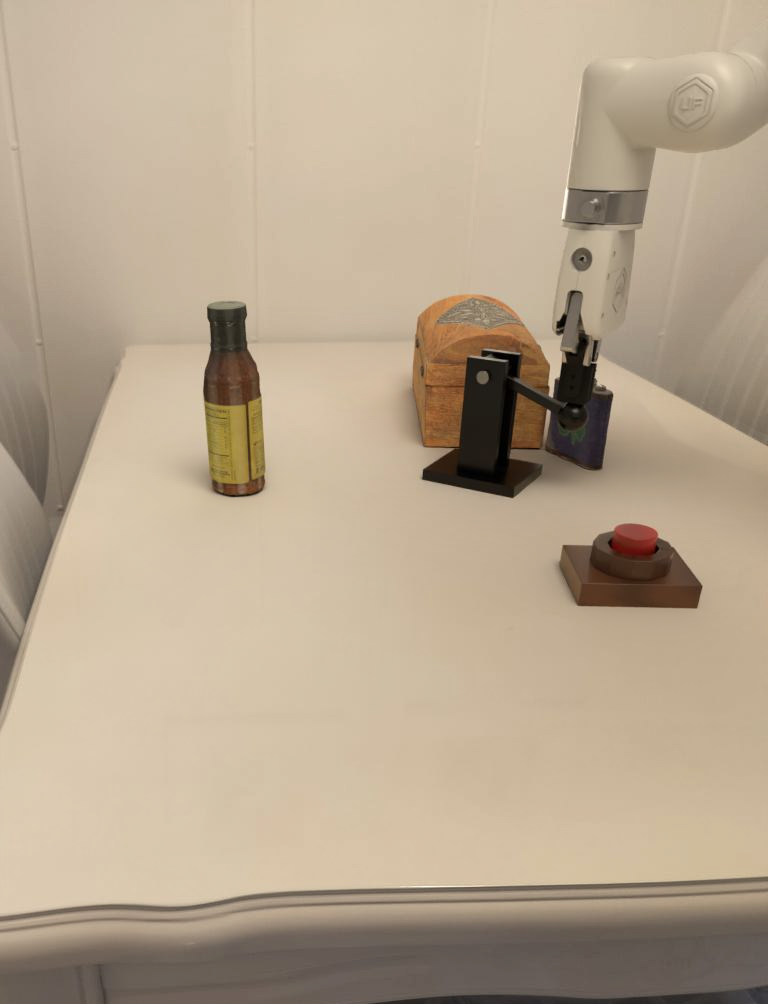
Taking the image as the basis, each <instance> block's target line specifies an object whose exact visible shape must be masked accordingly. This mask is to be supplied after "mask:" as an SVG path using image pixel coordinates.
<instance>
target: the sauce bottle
mask: <svg viewBox="0 0 768 1004" xmlns="http://www.w3.org/2000/svg"><path fill="white" fill-rule="evenodd" d="M247 317H248V311H247V304H246V303H245V302H243V301H237V300H220V301H214V302H211V303H209V304H208V305H207V306H206V318H207V320H208V322H209V332H210V333H209V334H210V344H209V346H210V351H209V355H208V358H207V359H208V360H207V362H206V365H205V368H204V372H203V373H204V375H203V385H202V395H203V406H204V417H205V418H204V419H205V431H206V441H207V442H206V443H207V456H208V467H209V476H210V478H211V485H212V487H213V489H214V490H215V491H216V492H217V493H220V494H223V493H224V494H223V495H226V494H227V495H226V496H231V495H236V496H244V495H245V496H247V494H249V495H253V494H256V493H258V492H260V491H261V490H263V488H264V487H265V484H266V478H265V473H266V455H265V435H264V420H263V419H264V418H263V398H262V397H263V396H262V392H261V386H260V385H261V383H260V381H261V379H260V378H261V376H260V373H259V371H258V365H257V363H256V361H255V360H254V358H253V356H252V354H251V352H250V350H249V349H248V340H247V329H246V328H247V327H246V320H247Z"/></svg>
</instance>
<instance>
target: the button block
mask: <svg viewBox="0 0 768 1004" xmlns="http://www.w3.org/2000/svg"><path fill="white" fill-rule="evenodd" d="M613 533H614V530H611V531H607V532H606V531H605V532H603V533H599V534H598V535H597V536H596V537H595V538H594V540H593V541H592V544H591V545H588V544H587V545H586V544H582V545H581V544H563V545H562V548H561V553H560V559H559V565H558V566H559V568H560V570H561V573H562V576H564V579H565V581H566V583H567V586H568V587H569V590H570V592H571V594H572V596H573V598H574V601H575V603H576V604H577V606H578V607H609V608H648V609H649V608H652V609H656V608H657V609H662V608H663V609H698V607H699V603H700V598H701V596H702V595H701V594H702V591H703V584H702V583H701V581H700V580H699V579H698V577H697V576H696V575H695V574H694V572H693V571H692V570H691V568H690V567H689V566H688V564H687V563H686V562H685V560H684V558H682V556H681V555H680V554H679V552H678V551H677V549H676V548H675V547H674V546H672V545H671V544H670V543H669V541H668V540H667V541H666V540H665V539H662V538H660V537H658V538H657V543H656V548H655V552H654V554H652V555H648V556H633V555H629V554H624V553H620V552H618V551H616V550H614V549H612V548H611V544H612V538H613Z"/></svg>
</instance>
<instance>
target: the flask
mask: <svg viewBox="0 0 768 1004" xmlns="http://www.w3.org/2000/svg"><path fill="white" fill-rule="evenodd" d="M597 371H598V370H597V369H596V372H597ZM559 378H560V376H558V377H556V378H555V379H554V384H553V393H552V398H554V399H555V400H557V391H558V385H559ZM557 401H558V400H557ZM613 401H614V393H613V391H612V390H611V389H608V388H607V386H605V385H604V384H601V383H600V384H599V385H598V380H597V378H596V377H595V379H594V385H593V391H592V397H591V400H590V401H589V402H587V403H586V404H585V406H586V408H587V409H588V413H589V418H588V421H587V423H586V425H585V426H584V427H583V428H582V429H581V430H579V431H576V432H568V431H565V430H564V429H562V428H561V427H560V425H559V423H558V420H557V415H556V414H555V413H553V412H551V411H550V413H549V414H550V415H549V424H548V428H547V435H546V441H545V449H546V451H547V452H548V453H550V454H553V455H556V456H558V457H559V458H561V459H563V460H566V461H567V460H568V461H570V462H571V463H573V464H577V466H581V467H582V468H584V469H586V470H590V471H591V470H592V471H599V470H602V469H603V465H604V457H605V450H606V445H607V438H608V430H609V425H610V419H611V412H612V405H613ZM559 402H560V401H559ZM561 403H563V404H565V403H566V402H561Z"/></svg>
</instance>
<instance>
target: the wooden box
mask: <svg viewBox="0 0 768 1004" xmlns="http://www.w3.org/2000/svg"><path fill="white" fill-rule="evenodd" d="M418 315H419V316H418V317H417V322H416V329H415V330H416V332H415V335H414V348H413V360H412V390H413V395H414V400H415V405H416V411H417V418H418V422H419V428H420V434H421V440H422V444H423V446H424V447H428V448H429V447H439V448H440V447H441V448H442V447H443V448H444V447H445V448H446V447H447V448H459V440H460V429H461V418H462V407H463V396H464V386H465V375H466V364H467V357H469V356H478V357H481V352H482V350H483V349H493V350H501V351H509V352H517V353H522V361H521V370H520V378H519V379H520V380H521V381H523V382H525V383H527V384H529V385H530V386H532V387H534V388H536V389H537V390H539V391H541V392H543V393H545V394H546V395H548V396H550V388H551V387H550V385H549V381H550V372H551V365H550V363H549V361H548V360H547V358H546V356H545V354H544V351H543V350H542V347H541V345H540V344H539V343H538V342H537V340H536V339H535V338H534V336H533V335H532V333H531V332H530V331H529V330H528V327H526V326H525V324H524V323H523V321H522V320H521V318H520V316H519V315H518V313H516V312H515V310H514V309H512V308H511V307H510V306H509V305H507V304H506V303H504V302H503V301H501V300H499V299H497V298H495V297H493V296H488V295H485V294H484V295H483V294H457V295H451V296H448V297H444V298H442V299H440V300H437V301H435V302H433V303H432V304H430V305H429V306H428V307H426V308H425V309H424V310H423V311H422V312H421V313H420V314H418ZM547 411H548V409H546V408H544V407H542V406H540V405H539V404H537V403H535V402H533V401H532V400H530V399H528V398H526V397H524V396H523V395H521V394H519V393H518V394H517V403H516V411H515V419H514V427H513V436H512V444H511V449H513V448H516V449H541V448H542V446H543V441H544V434H545V428H546V420H547Z"/></svg>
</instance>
